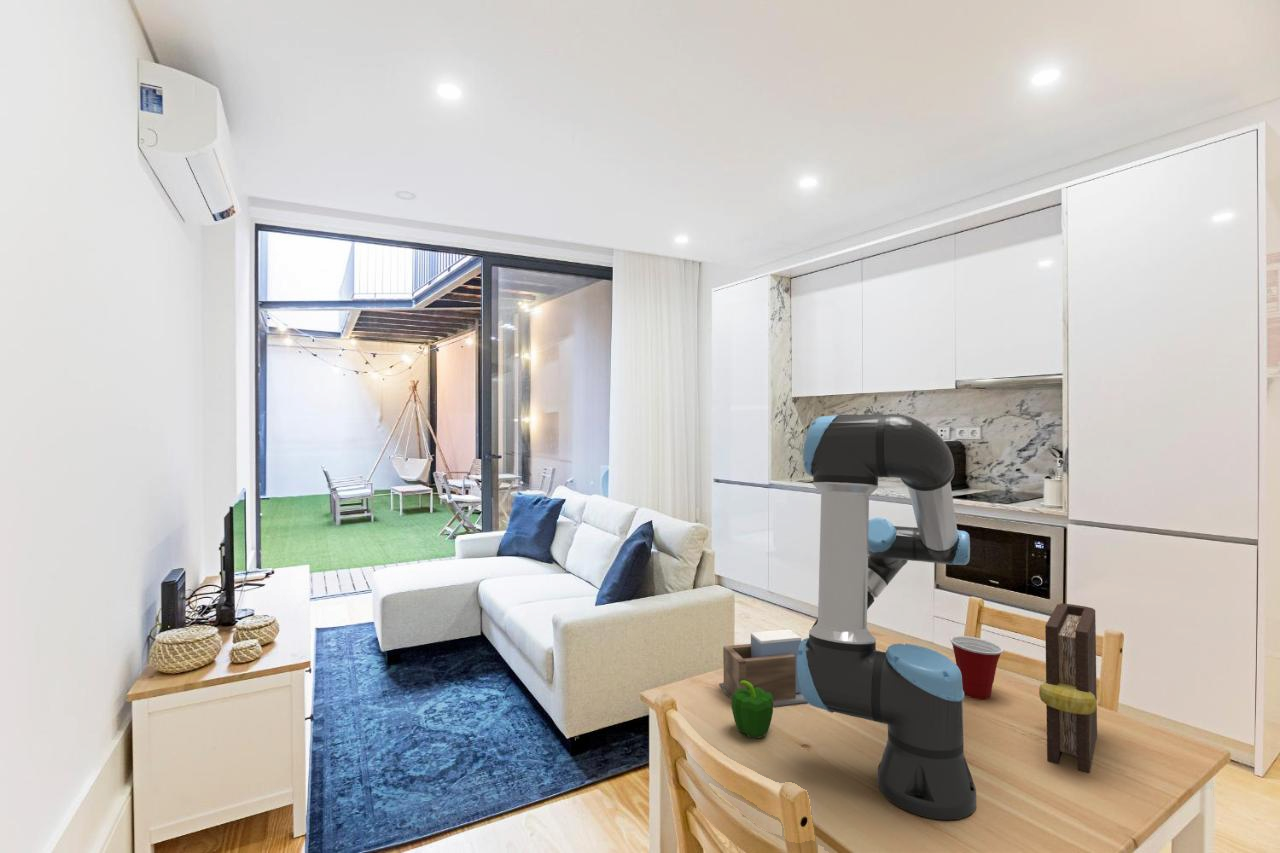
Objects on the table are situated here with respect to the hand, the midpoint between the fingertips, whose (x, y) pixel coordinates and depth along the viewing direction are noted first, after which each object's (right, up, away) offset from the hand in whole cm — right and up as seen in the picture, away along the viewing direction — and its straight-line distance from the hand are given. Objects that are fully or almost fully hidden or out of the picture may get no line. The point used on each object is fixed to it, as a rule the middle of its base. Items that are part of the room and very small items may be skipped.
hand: (800, 663), depth 143 cm
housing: (-8, -6, -2) cm, 10 cm away
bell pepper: (-15, -6, -20) cm, 26 cm away
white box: (-6, -5, -1) cm, 8 cm away
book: (+45, -6, -28) cm, 53 cm away
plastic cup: (+40, -6, -4) cm, 41 cm away
